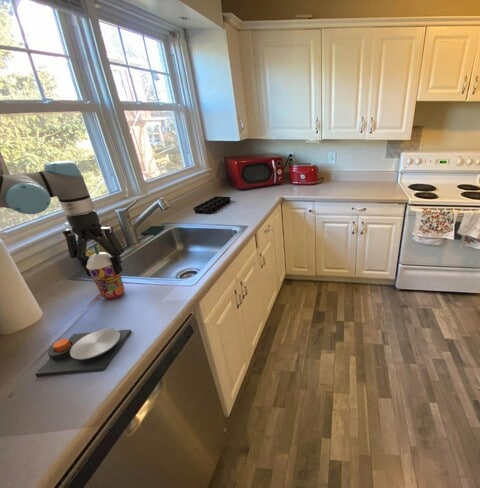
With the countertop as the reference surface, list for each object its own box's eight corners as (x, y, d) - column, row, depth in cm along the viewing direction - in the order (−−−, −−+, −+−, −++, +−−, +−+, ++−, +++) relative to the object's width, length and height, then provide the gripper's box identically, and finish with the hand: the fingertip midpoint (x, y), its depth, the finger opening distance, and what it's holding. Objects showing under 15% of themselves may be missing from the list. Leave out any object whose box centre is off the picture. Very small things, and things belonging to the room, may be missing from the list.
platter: (59, 361, 71) (59, 360, 71) (87, 331, 81) (87, 330, 81) (105, 357, 72) (105, 356, 72) (127, 328, 82) (127, 326, 82)
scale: (34, 377, 71) (28, 369, 69) (73, 337, 83) (68, 329, 82) (104, 370, 72) (100, 362, 71) (131, 332, 85) (128, 324, 83)
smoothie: (115, 303, 98) (94, 252, 89) (94, 301, 99) (71, 250, 90) (133, 289, 105) (115, 241, 96) (114, 287, 106) (94, 240, 98)
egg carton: (192, 214, 180) (190, 209, 178) (208, 201, 207) (207, 196, 205) (219, 214, 180) (218, 208, 178) (232, 200, 207) (231, 195, 205)
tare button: (52, 352, 74) (49, 347, 74) (61, 343, 77) (58, 339, 77) (65, 351, 75) (62, 346, 74) (73, 342, 78) (71, 337, 77)
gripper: (34, 217, 84) (65, 281, 94) (109, 214, 86) (132, 277, 96) (53, 209, 90) (80, 269, 100) (122, 206, 92) (142, 266, 102)
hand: (105, 273), depth 98 cm, fingers closed on smoothie, 8 cm apart
